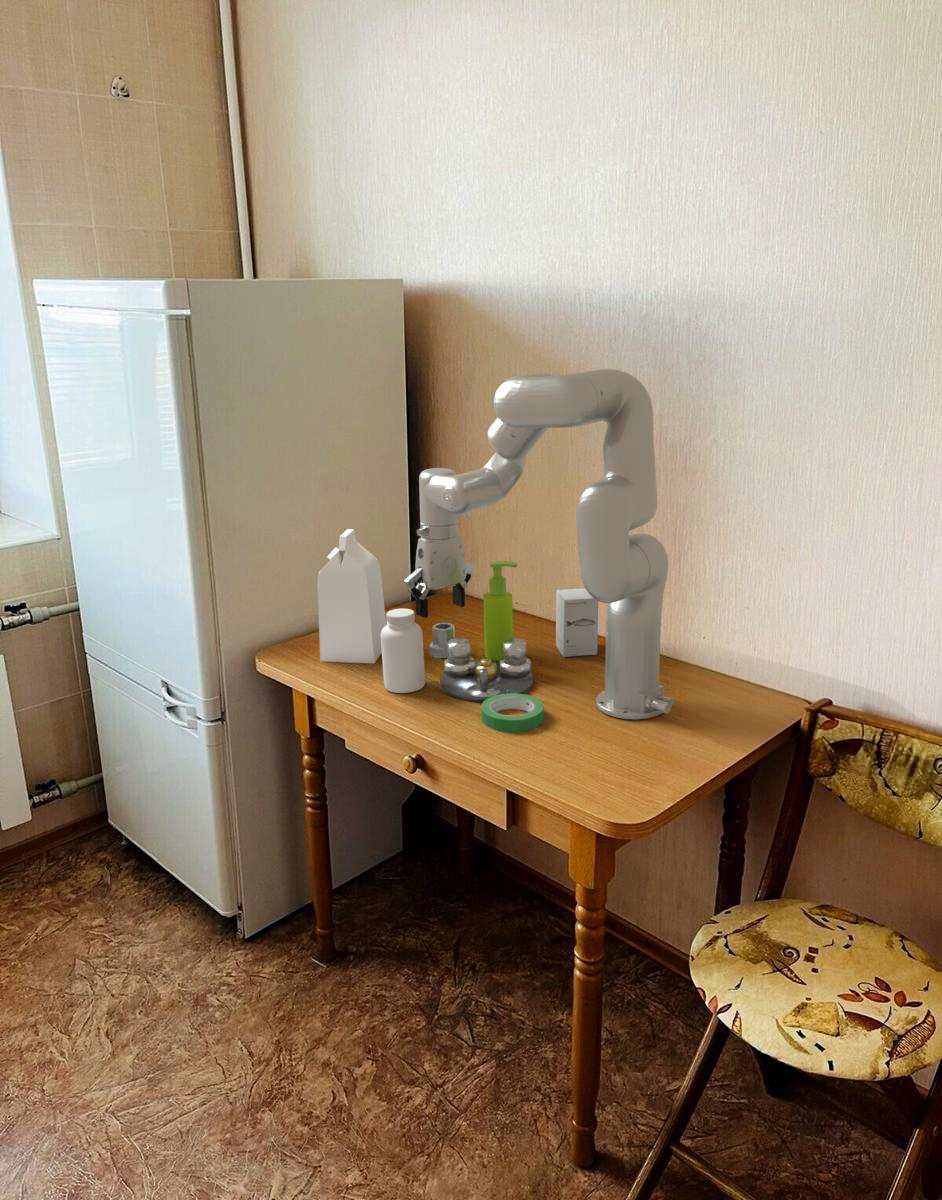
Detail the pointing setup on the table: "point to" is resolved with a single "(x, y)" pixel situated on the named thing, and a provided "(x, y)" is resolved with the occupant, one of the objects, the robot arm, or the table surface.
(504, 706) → the tape roll
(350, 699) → the table surface
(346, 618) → the milk
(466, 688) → the carrier
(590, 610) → the supplement box
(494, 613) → the soap dispenser
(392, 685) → the pill bottle
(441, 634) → the octagonal collar pipe
